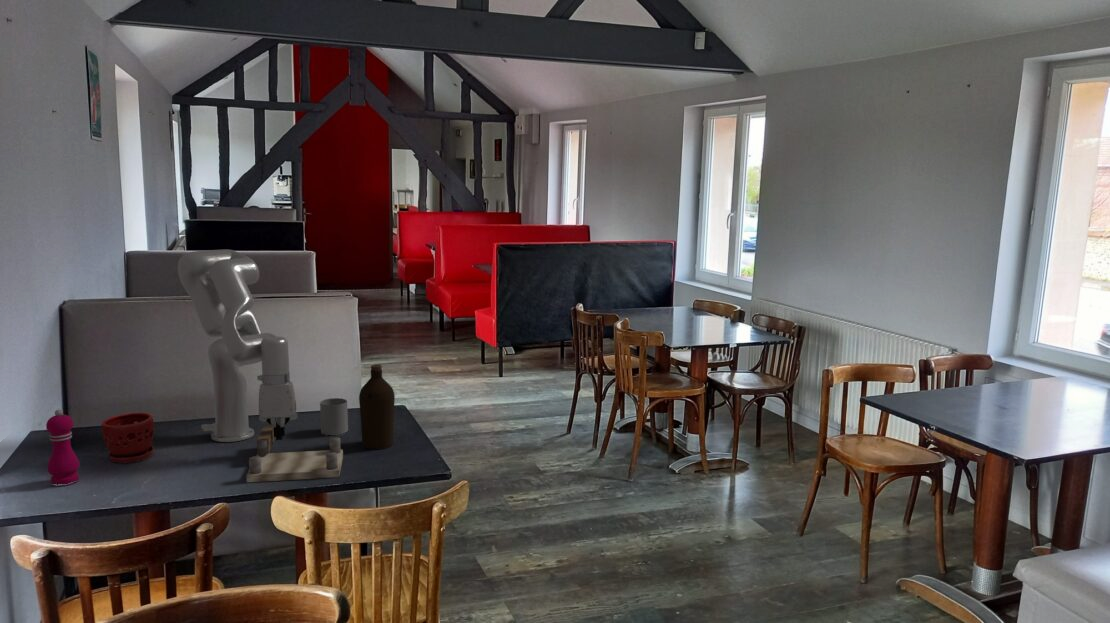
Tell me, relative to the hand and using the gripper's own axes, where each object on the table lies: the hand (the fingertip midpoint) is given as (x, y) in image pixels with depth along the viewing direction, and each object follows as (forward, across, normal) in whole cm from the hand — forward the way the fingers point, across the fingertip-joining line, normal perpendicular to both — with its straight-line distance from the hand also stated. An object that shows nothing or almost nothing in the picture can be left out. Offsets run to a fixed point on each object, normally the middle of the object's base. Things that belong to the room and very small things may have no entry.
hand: (279, 438), depth 233 cm
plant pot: (+4, -42, +1) cm, 42 cm away
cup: (+4, +14, +18) cm, 23 cm away
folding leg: (+1, -4, -2) cm, 4 cm away
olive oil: (+5, +28, +3) cm, 29 cm away
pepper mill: (+4, -52, -16) cm, 55 cm away
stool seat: (+4, +7, -15) cm, 17 cm away
